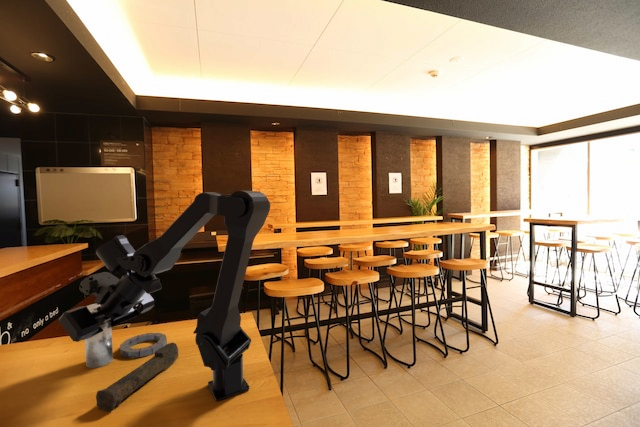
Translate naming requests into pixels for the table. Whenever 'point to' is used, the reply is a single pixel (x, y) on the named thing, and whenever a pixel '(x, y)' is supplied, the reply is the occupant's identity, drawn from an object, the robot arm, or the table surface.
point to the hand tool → (136, 378)
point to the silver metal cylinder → (99, 344)
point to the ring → (145, 351)
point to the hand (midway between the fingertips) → (93, 333)
